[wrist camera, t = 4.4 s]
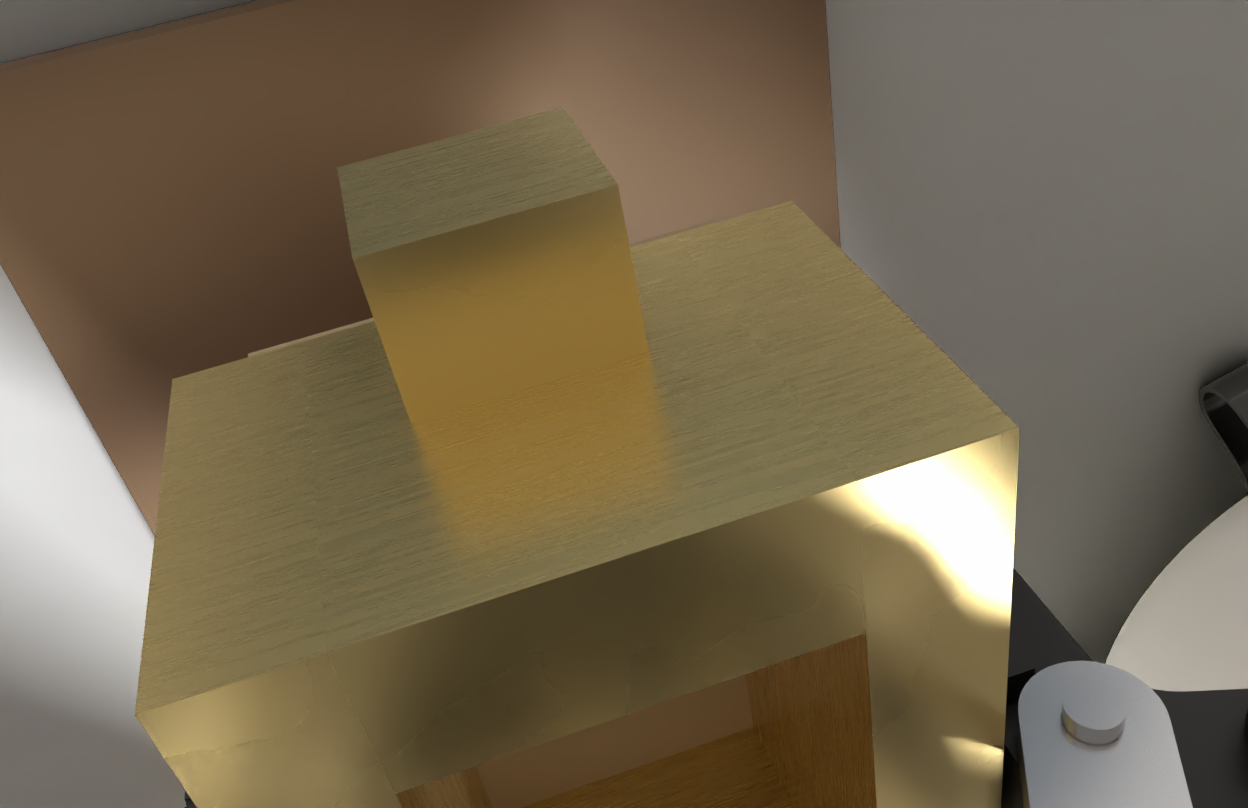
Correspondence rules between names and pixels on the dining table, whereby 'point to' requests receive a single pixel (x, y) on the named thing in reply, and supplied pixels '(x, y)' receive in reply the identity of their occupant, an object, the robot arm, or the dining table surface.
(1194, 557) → the coffee press
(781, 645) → the gold rectangular hollow block
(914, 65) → the dining table surface
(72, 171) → the brown piece
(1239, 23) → the dining table surface
